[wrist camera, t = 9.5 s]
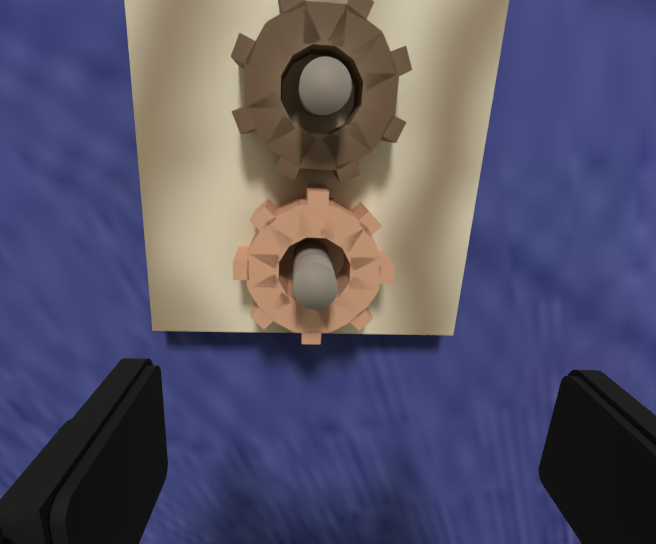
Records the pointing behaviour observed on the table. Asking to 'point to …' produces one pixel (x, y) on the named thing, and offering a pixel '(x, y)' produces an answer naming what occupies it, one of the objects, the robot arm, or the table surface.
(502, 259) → the table surface
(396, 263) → the gear board
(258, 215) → the terracotta gear
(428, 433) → the table surface
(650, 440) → the robot arm
